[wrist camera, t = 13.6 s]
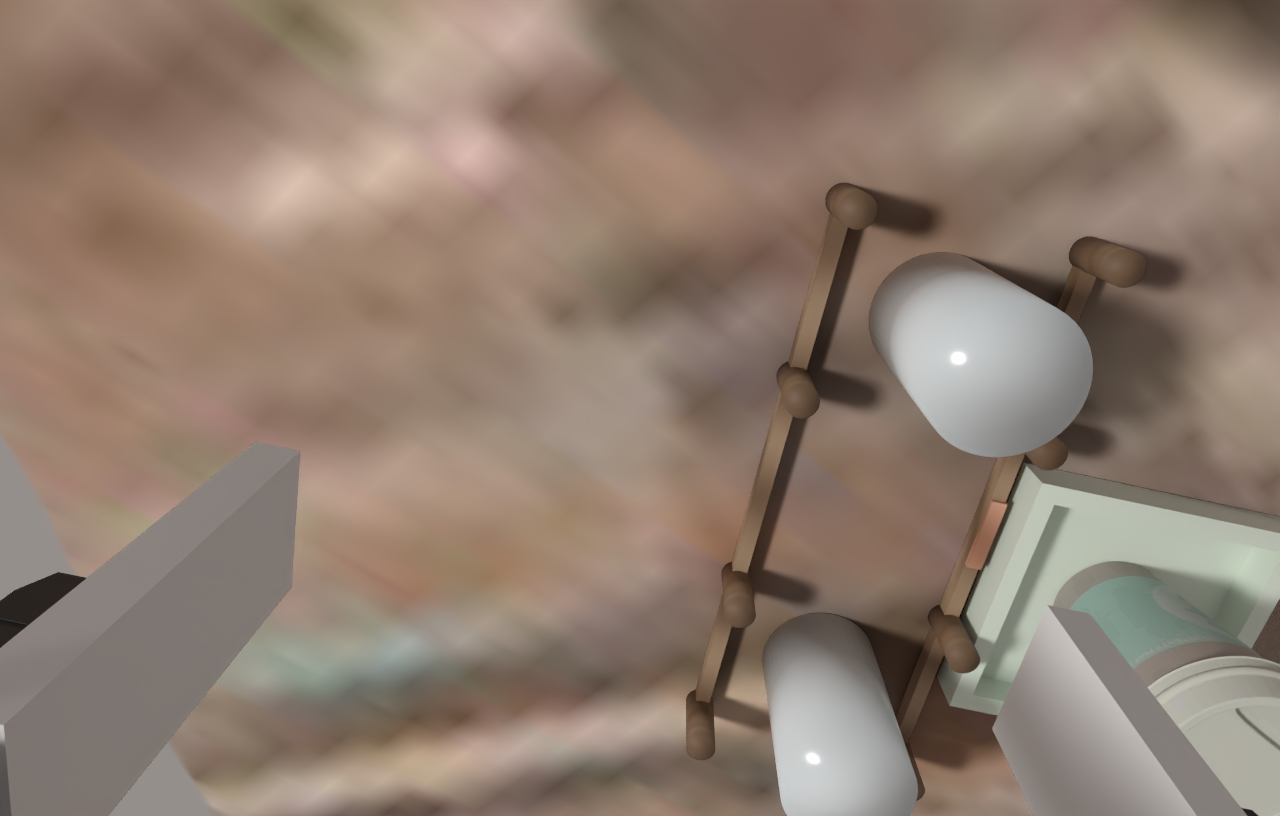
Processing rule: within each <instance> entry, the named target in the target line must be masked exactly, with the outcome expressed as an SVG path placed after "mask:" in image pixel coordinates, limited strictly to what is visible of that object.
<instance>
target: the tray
mask: <svg viewBox="0 0 1280 816" xmlns="http://www.w3.org/2000/svg"><path fill="white" fill-rule="evenodd" d="M1104 562H1127V563H1131V564H1134V565H1137V566H1139V567H1142V568H1143V569H1145V570H1146V571H1148V572H1149V573H1151V574H1152V575H1153V576H1155V577H1156V578H1157V579H1159V580H1160V581H1161V582H1163V583H1164V584H1165V585H1167V586H1168V587H1170V588H1171V589H1172V590H1174V591H1175V592H1176V593H1178V594H1179V595H1180V596H1182V597H1183V598H1184V599H1186V600H1187V601H1188V602H1190V603H1191V604H1192V605H1194V606H1195V607H1196V608H1198V609H1199V610H1200V611H1202V612H1203V613H1204V614H1206V615H1207V616H1208V617H1210V618H1211V619H1212V620H1214V621H1215V622H1216V623H1218V624H1219V625H1220V626H1222V627H1223V628H1224V629H1226V630H1227V631H1228V632H1230V633H1231V634H1232V635H1234V636H1235V637H1236V638H1238V639H1239V640H1240V641H1242V642H1243V643H1244V644H1246V645H1247V646H1248V647H1250V648H1251V649H1252V647H1253V645H1254V643H1255V642H1256V640H1257V638H1258V636H1259V635H1260V633H1261V631H1262V629H1263V627H1264V626H1265V624H1266V622H1267V620H1268V618H1269V617H1270V615H1271V613H1272V611H1273V610H1274V608H1275V606H1276V604H1277V602H1278V601H1279V599H1280V517H1278V516H1274V515H1269V514H1264V513H1259V512H1255V511H1250V510H1245V509H1241V508H1236V507H1231V506H1226V505H1222V504H1217V503H1212V502H1207V501H1203V500H1198V499H1193V498H1189V497H1184V496H1179V495H1174V494H1170V493H1165V492H1160V491H1155V490H1151V489H1146V488H1141V487H1137V486H1132V485H1127V484H1122V483H1118V482H1113V481H1108V480H1103V479H1099V478H1094V477H1089V476H1085V475H1080V474H1075V473H1070V472H1066V471H1061V470H1056V469H1054V470H1049V471H1047V470H1042V469H1040V468H1038V467H1037V466H1036V465H1033V464H1028V463H1023V465H1022V467H1021V470H1020V472H1019V475H1018V477H1017V480H1016V482H1015V485H1014V487H1013V489H1012V492H1011V494H1010V497H1009V499H1008V502H1007V508H1006V510H1005V513H1004V515H1003V518H1002V520H1001V523H1000V525H999V528H998V530H997V532H996V535H995V537H994V540H993V542H992V545H991V547H990V550H989V552H988V555H987V557H986V560H985V562H984V564H983V567H982V569H981V570H980V571H979V573H978V576H977V578H976V581H975V583H974V586H973V588H972V591H971V593H970V596H969V598H968V600H967V603H966V605H965V608H964V610H963V613H962V615H961V618H960V620H961V622H962V623H963V625H964V627H965V629H966V631H967V633H968V635H969V637H970V639H971V641H972V642H973V644H974V646H975V648H976V650H977V652H978V654H979V656H980V663H979V666H978V667H977V668H976V669H975V670H974V671H972V672H969V673H965V674H961V673H957V672H955V671H953V670H952V669H951V668H950V666H949V664H948V661H947V659H946V657H944V660H943V662H942V665H941V667H940V670H939V672H938V674H937V679H938V681H939V683H940V686H941V688H942V690H943V692H944V695H945V697H946V699H947V702H948V704H949V706H953V707H958V708H963V709H968V710H973V711H978V712H983V713H987V714H992V715H997V716H998V714H999V712H1000V710H1001V708H1002V705H1003V703H1004V701H1005V699H1006V696H1007V694H1008V692H1009V690H1010V687H1011V685H1012V683H1013V681H1014V678H1015V676H1016V674H1017V672H1018V669H1019V667H1020V665H1021V663H1022V660H1023V658H1024V656H1025V654H1026V651H1027V649H1028V647H1029V645H1030V642H1031V640H1032V638H1033V636H1034V633H1035V631H1036V629H1037V627H1038V624H1039V622H1040V620H1041V618H1042V615H1043V613H1044V611H1045V609H1046V606H1047V605H1050V606H1053V604H1054V601H1055V598H1056V596H1057V594H1058V592H1059V591H1060V589H1061V588H1062V586H1063V585H1064V584H1065V583H1066V582H1067V581H1068V580H1069V579H1070V578H1071V577H1072V576H1074V575H1075V574H1077V573H1078V572H1080V571H1082V570H1083V569H1085V568H1088V567H1090V566H1093V565H1096V564H1099V563H1104Z"/></svg>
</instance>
